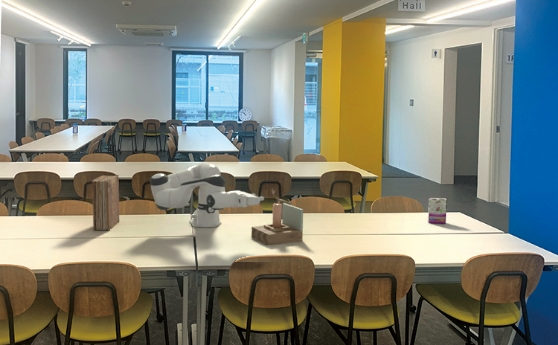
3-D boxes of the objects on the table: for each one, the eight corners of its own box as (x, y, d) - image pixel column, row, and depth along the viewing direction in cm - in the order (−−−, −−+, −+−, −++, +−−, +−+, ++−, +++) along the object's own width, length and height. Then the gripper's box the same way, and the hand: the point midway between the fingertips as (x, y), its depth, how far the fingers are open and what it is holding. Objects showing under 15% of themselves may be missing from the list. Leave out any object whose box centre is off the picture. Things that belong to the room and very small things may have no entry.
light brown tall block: (270, 228, 313) (271, 203, 311) (278, 227, 316) (278, 203, 314) (275, 230, 309) (275, 205, 307) (282, 229, 312) (283, 204, 310)
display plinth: (251, 237, 316) (251, 206, 314) (284, 232, 327) (284, 203, 325) (268, 245, 299) (269, 212, 297) (302, 240, 310) (303, 209, 308)
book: (109, 231, 323) (108, 180, 319) (93, 231, 322) (91, 180, 318) (119, 221, 348) (118, 174, 344) (104, 221, 347) (103, 174, 343)
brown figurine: (295, 227, 338) (289, 187, 334) (278, 232, 331) (272, 191, 327) (285, 225, 347) (279, 186, 343) (268, 230, 340) (262, 190, 337)
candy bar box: (444, 222, 364) (446, 198, 362) (445, 224, 359) (447, 199, 357) (427, 221, 366) (428, 197, 364) (428, 223, 361) (429, 198, 359)
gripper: (228, 201, 306) (250, 199, 313) (245, 208, 288) (268, 205, 295) (228, 190, 305) (250, 188, 312) (245, 196, 287) (268, 194, 294)
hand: (259, 196), depth 303 cm, fingers open, 8 cm apart
